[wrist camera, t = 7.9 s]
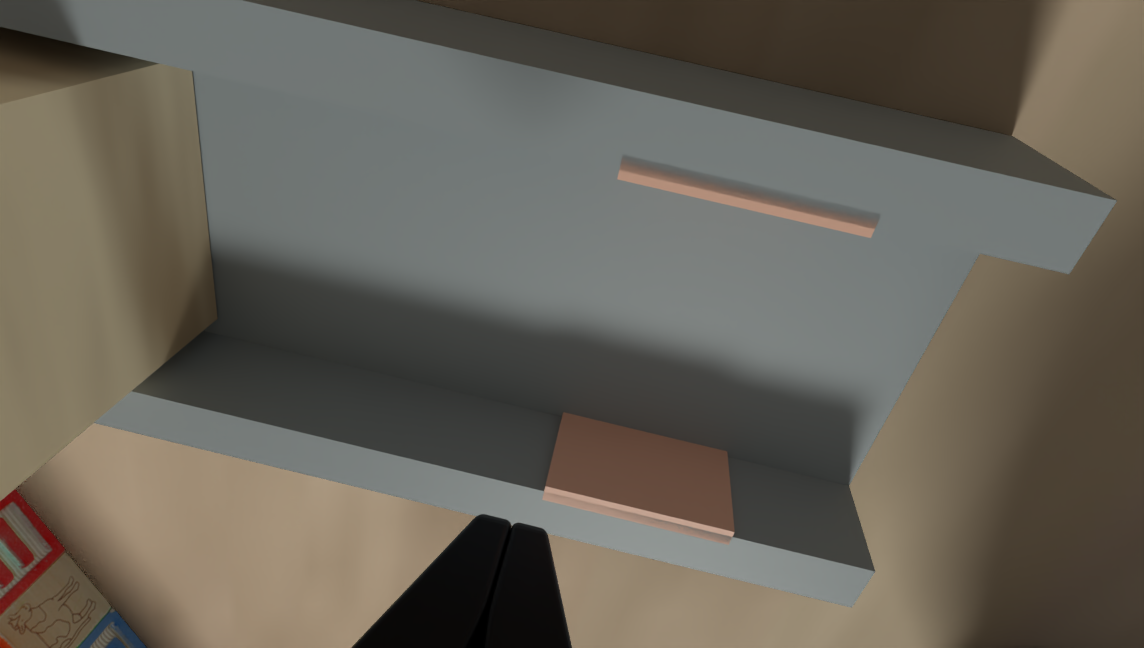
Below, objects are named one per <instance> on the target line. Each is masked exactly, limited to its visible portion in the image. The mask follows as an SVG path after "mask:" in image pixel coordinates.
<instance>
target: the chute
mask: <svg viewBox="0 0 1144 648" xmlns="http://www.w3.org/2000/svg"><path fill="white" fill-rule="evenodd" d="M0 27H4V28H8V29H13V30H17V31H21V32H25V33H30V34H34V35H38V36H43V37H47V38H51V39H56V40H60V41H64V42H69V43H73V44H77V45H82V46H86V47H90V48H95V49H99V50H103V51H107V52H112V53H116V54H120V55H125V56H129V57H133V58H138V59H142V60H146V61H151V62H155V63H159V64H164V65H168V66H172V67H177V68H181V69H185V70H189V71H192V76H193V85H194V95H195V105H196V114H197V124H198V134H199V144H200V153H201V163H202V173H203V182H204V192H205V202H206V211H207V221H208V231H209V240H210V250H211V260H212V270H213V279H214V289H215V299H216V308H217V318H218V319H217V320H215V321H214V322H213V323H212V324H211V325H209V326H208V327H207V328H206V329H205V330H203V331H202V332H201V333H200V334H199V335H198V336H196V337H195V338H194V339H193V340H192V341H190V342H189V343H188V344H187V345H186V346H184V347H183V348H182V349H181V350H180V351H178V352H177V353H176V354H175V355H174V356H173V357H171V358H170V359H169V360H168V361H167V362H165V363H164V364H163V365H162V366H161V367H159V368H158V369H157V370H156V371H155V372H154V373H152V374H151V375H150V376H149V377H148V378H146V379H145V380H144V381H143V382H142V383H140V384H139V385H138V386H137V387H136V388H134V389H133V390H132V391H131V392H130V393H129V394H127V395H126V396H125V397H124V398H123V399H121V400H120V401H119V402H118V403H117V404H115V405H114V406H113V407H112V408H111V409H109V410H108V411H107V412H106V413H105V414H104V415H102V416H101V417H100V418H99V419H98V420H96V421H95V422H94V423H96V424H101V425H105V426H109V427H113V428H117V429H121V430H125V431H129V432H133V433H137V434H142V435H146V436H150V437H154V438H158V439H162V440H166V441H170V442H174V443H179V444H183V445H187V446H191V447H195V448H199V449H203V450H207V451H211V452H215V453H220V454H224V455H228V456H232V457H236V458H240V459H244V460H248V461H252V462H256V463H261V464H265V465H269V466H273V467H277V468H281V469H285V470H289V471H293V472H298V473H302V474H306V475H310V476H314V477H318V478H322V479H326V480H330V481H334V482H339V483H343V484H347V485H351V486H355V487H359V488H363V489H367V490H371V491H375V492H380V493H384V494H388V495H392V496H396V497H400V498H404V499H408V500H412V501H417V502H421V503H425V504H429V505H433V506H437V507H441V508H445V509H449V510H453V511H458V512H462V513H466V514H470V515H474V516H478V515H480V514H486V515H490V516H494V517H499V518H503V519H507V520H509V522H510V523H511V525H514V524H515V523H523V524H528V525H532V526H536V527H540V528H543V529H544V530H545V531H546V532H547V533H548V534H552V535H556V536H560V537H564V538H568V539H572V540H577V541H581V542H585V543H589V544H593V545H597V546H601V547H605V548H609V549H613V550H618V551H622V552H626V553H630V554H634V555H638V556H642V557H646V558H650V559H654V560H659V561H663V562H667V563H671V564H675V565H679V566H683V567H687V568H691V569H696V570H700V571H704V572H708V573H712V574H716V575H720V576H724V577H728V578H732V579H737V580H741V581H745V582H749V583H753V584H757V585H761V586H765V587H769V588H773V589H778V590H782V591H786V592H790V593H794V594H798V595H802V596H806V597H810V598H815V599H819V600H823V601H827V602H831V603H835V604H839V605H843V606H847V607H851V608H852V606H853V605H854V603H855V602H856V600H857V599H858V597H859V595H860V594H861V592H862V591H863V589H864V588H865V586H866V585H867V583H868V582H869V580H870V579H871V577H872V576H873V574H874V573H875V570H874V566H873V563H872V560H871V556H870V553H869V550H868V547H867V543H866V540H865V537H864V534H863V530H862V527H861V524H860V520H859V517H858V514H857V511H856V507H855V504H854V501H853V497H852V494H851V491H850V488H849V485H850V483H851V481H852V479H853V478H854V476H855V474H856V472H857V470H858V469H859V467H860V465H861V463H862V462H863V460H864V458H865V456H866V455H867V453H868V451H869V449H870V447H871V446H872V444H873V442H874V440H875V439H876V437H877V435H878V433H879V431H880V430H881V428H882V426H883V424H884V423H885V421H886V419H887V417H888V415H889V414H890V412H891V410H892V408H893V407H894V405H895V403H896V401H897V399H898V398H899V396H900V394H901V392H902V391H903V389H904V387H905V385H906V384H907V382H908V380H909V378H910V376H911V375H912V373H913V371H914V369H915V368H916V366H917V364H918V362H919V360H920V359H921V357H922V355H923V353H924V352H925V350H926V348H927V346H928V344H929V343H930V341H931V339H932V337H933V336H934V334H935V332H936V330H937V329H938V327H939V325H940V323H941V321H942V320H943V318H944V316H945V314H946V313H947V311H948V309H949V307H950V305H951V304H952V302H953V300H954V298H955V297H956V295H957V293H958V291H959V289H960V288H961V286H962V284H963V282H964V281H965V279H966V277H967V275H968V274H969V272H970V270H971V268H972V266H973V265H974V263H975V261H976V259H977V258H978V256H979V254H984V255H988V256H992V257H997V258H1001V259H1005V260H1010V261H1014V262H1018V263H1023V264H1027V265H1031V266H1036V267H1040V268H1044V269H1048V270H1053V271H1057V272H1061V273H1066V274H1070V272H1071V271H1072V269H1073V268H1074V266H1075V265H1076V263H1077V262H1078V260H1079V259H1080V257H1081V255H1082V254H1083V252H1084V251H1085V249H1086V248H1087V246H1088V245H1089V243H1090V242H1091V240H1092V239H1093V237H1094V236H1095V234H1096V232H1097V231H1098V229H1099V228H1100V226H1101V225H1102V223H1103V222H1104V220H1105V219H1106V217H1107V216H1108V214H1109V213H1110V211H1111V210H1112V208H1113V206H1114V205H1115V203H1116V202H1117V200H1115V199H1114V198H1112V197H1110V196H1109V195H1107V194H1106V193H1104V192H1102V191H1101V190H1099V189H1097V188H1096V187H1094V186H1093V185H1091V184H1089V183H1088V182H1086V181H1085V180H1083V179H1081V178H1080V177H1078V176H1076V175H1075V174H1073V173H1072V172H1070V171H1068V170H1067V169H1065V168H1063V167H1062V166H1060V165H1059V164H1057V163H1055V162H1054V161H1052V160H1050V159H1049V158H1047V157H1046V156H1044V155H1042V154H1041V153H1039V152H1038V151H1036V150H1034V149H1033V148H1031V147H1029V146H1028V145H1026V144H1025V143H1023V142H1021V141H1020V140H1018V139H1016V138H1015V137H1013V136H1009V135H1005V134H1000V133H996V132H992V131H987V130H983V129H979V128H974V127H970V126H965V125H961V124H957V123H952V122H948V121H943V120H939V119H935V118H930V117H926V116H921V115H917V114H913V113H908V112H904V111H899V110H895V109H891V108H886V107H882V106H878V105H873V104H869V103H864V102H860V101H856V100H851V99H847V98H842V97H838V96H834V95H829V94H825V93H820V92H816V91H812V90H807V89H803V88H798V87H794V86H790V85H785V84H781V83H777V82H772V81H768V80H763V79H759V78H755V77H750V76H746V75H741V74H737V73H733V72H728V71H724V70H719V69H715V68H711V67H706V66H702V65H698V64H693V63H689V62H684V61H680V60H676V59H671V58H667V57H662V56H658V55H654V54H649V53H645V52H640V51H636V50H632V49H627V48H623V47H618V46H614V45H610V44H605V43H601V42H597V41H592V40H588V39H583V38H579V37H575V36H570V35H566V34H561V33H557V32H553V31H548V30H544V29H539V28H535V27H531V26H526V25H522V24H518V23H513V22H509V21H504V20H500V19H496V18H491V17H487V16H482V15H478V14H474V13H469V12H465V11H460V10H456V9H452V8H447V7H443V6H438V5H434V4H430V3H425V2H421V1H417V0H0Z"/></svg>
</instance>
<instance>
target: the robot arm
mask: <svg viewBox="0 0 1144 648" xmlns="http://www.w3.org/2000/svg"><path fill="white" fill-rule="evenodd" d="M352 648H572V646H571V641H570V636H569V632H568V627H567V622H566V618H565V613H564V608H563V604H562V599H561V594H560V590H559V585H558V580H557V576H556V571H555V566H554V562H553V557H552V552H551V548H550V543H549V538H548V535H547V532H546V531H545V530H544V529H543V528H540V527H536V526H532V525H528V524H523V523H515V524H514V525H513V526H512V528H511V523H510V522H509V520H507V519H503V518H499V517H494V516H490V515H486V514H480V515H478V516H477V517H475V518H474V519H473V520H472V521H471V522H470V523H469V524H468V526H467V527H466V528H465V529H464V530H463V531H462V532H461V533H460V534H459V535H458V536H457V537H456V538H455V539H454V540H453V541H452V542H451V543H450V544H449V546H448V547H447V548H446V549H445V550H444V551H443V552H442V553H441V554H440V555H439V556H438V557H437V558H436V559H435V560H434V561H433V562H432V563H431V564H430V565H429V567H428V568H427V569H426V570H425V571H424V572H423V573H422V574H421V575H420V576H419V577H418V578H417V579H416V580H415V581H414V582H413V583H412V584H411V585H410V587H409V588H408V589H407V590H406V591H405V592H404V593H403V594H402V595H401V596H400V597H399V598H398V599H397V600H396V601H395V602H394V603H393V604H392V605H391V607H390V608H389V609H388V610H387V611H386V612H385V613H384V614H383V615H382V616H381V617H380V618H379V619H378V620H377V621H376V622H375V623H374V624H373V625H372V626H371V628H370V629H369V630H368V631H367V632H366V633H365V634H364V635H363V636H362V637H361V638H360V639H359V640H358V641H357V642H356V643H355V644H354V645H353V646H352Z"/></svg>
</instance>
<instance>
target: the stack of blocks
mask: <svg viewBox="0 0 1144 648" xmlns="http://www.w3.org/2000/svg"><path fill="white" fill-rule="evenodd" d="M0 648H147V647H146V646H145V645H144V644H143V643H142V642H141V640H140V639H139V638H138V637H137V635H136V634H135V633H134V632H133V631H132V630H131V629H130V627H129V626H128V625H127V624H126V622H125V621H124V620H123V619H122V618H121V616H120V615H119V614H118V613H117V611H115V610H114V609H113V608H112V607H111V606H110V604H109V603H108V602H107V600H106V599H105V598H104V597H103V595H102V594H101V593H100V592H99V591H98V590H97V588H96V587H95V586H94V585H93V584H92V583H91V581H90V580H89V579H88V578H87V577H86V575H85V574H84V573H83V572H82V571H81V569H80V568H79V567H78V566H77V565H76V563H75V562H74V561H73V560H72V559H71V558H70V556H69V555H68V554H67V553H66V552H65V549H64V547H63V546H62V545H61V544H60V542H59V541H58V540H57V539H56V538H55V536H54V535H53V534H52V533H51V531H50V530H49V529H48V528H47V527H46V526H45V524H44V523H43V522H42V521H41V520H40V518H39V517H38V516H37V515H36V514H35V512H34V511H33V510H32V509H31V508H30V506H29V505H28V504H27V503H26V502H25V500H24V499H23V498H22V497H21V496H20V494H19V493H18V492H17V491H16V490H15V489H14V490H13V491H12V492H11V493H9V494H8V495H7V496H6V497H5V498H4V499H2V500H1V501H0Z"/></svg>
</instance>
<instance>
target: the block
mask: <svg viewBox="0 0 1144 648" xmlns="http://www.w3.org/2000/svg"><path fill="white" fill-rule="evenodd" d="M217 319H218V318H217V308H216V299H215V289H214V279H213V270H212V260H211V250H210V240H209V231H208V221H207V211H206V202H205V192H204V182H203V173H202V163H201V153H200V144H199V134H198V124H197V114H196V105H195V95H194V85H193V76H192V71H189V70H185V69H181V68H177V67H172V66H168V65H164V64H159V63H155V62H151V61H146V60H142V59H138V58H133V57H129V56H125V55H120V54H116V53H112V52H107V51H103V50H99V49H95V48H90V47H86V46H82V45H77V44H73V43H69V42H64V41H60V40H56V39H51V38H47V37H43V36H38V35H34V34H30V33H25V32H21V31H17V30H13V29H8V28H4V27H0V501H1V500H2V499H4V498H5V497H6V496H7V495H8V494H9V493H11V492H12V491H13V490H14V489H15V488H17V487H18V486H19V485H20V484H21V483H23V482H24V481H25V480H26V479H27V478H29V477H30V476H31V475H32V474H33V473H34V472H36V471H37V470H38V469H39V468H40V467H42V466H43V465H44V464H45V463H46V462H48V461H49V460H50V459H51V458H52V457H54V456H55V455H56V454H57V453H58V452H59V451H61V450H62V449H63V448H64V447H65V446H67V445H68V444H69V443H70V442H71V441H73V440H74V439H75V438H76V437H77V436H79V435H80V434H81V433H82V432H83V431H84V430H86V429H87V428H88V427H89V426H90V425H92V424H93V423H94V422H95V421H96V420H98V419H99V418H100V417H101V416H102V415H104V414H105V413H106V412H107V411H108V410H109V409H111V408H112V407H113V406H114V405H115V404H117V403H118V402H119V401H120V400H121V399H123V398H124V397H125V396H126V395H127V394H129V393H130V392H131V391H132V390H133V389H134V388H136V387H137V386H138V385H139V384H140V383H142V382H143V381H144V380H145V379H146V378H148V377H149V376H150V375H151V374H152V373H154V372H155V371H156V370H157V369H158V368H159V367H161V366H162V365H163V364H164V363H165V362H167V361H168V360H169V359H170V358H171V357H173V356H174V355H175V354H176V353H177V352H178V351H180V350H181V349H182V348H183V347H184V346H186V345H187V344H188V343H189V342H190V341H192V340H193V339H194V338H195V337H196V336H198V335H199V334H200V333H201V332H202V331H203V330H205V329H206V328H207V327H208V326H209V325H211V324H212V323H213V322H214V321H215V320H217Z"/></svg>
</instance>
